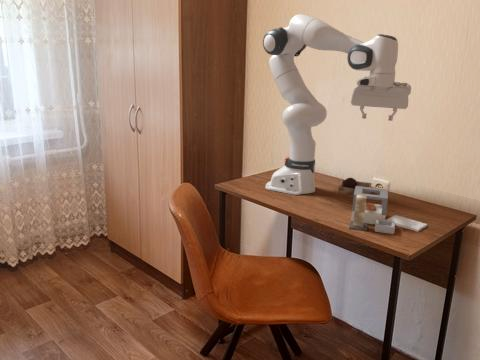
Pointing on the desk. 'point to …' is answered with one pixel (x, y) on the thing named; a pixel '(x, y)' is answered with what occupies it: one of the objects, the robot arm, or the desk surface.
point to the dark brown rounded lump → (350, 183)
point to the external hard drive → (407, 223)
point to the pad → (358, 227)
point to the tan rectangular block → (359, 211)
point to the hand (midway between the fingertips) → (377, 119)
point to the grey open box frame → (378, 209)
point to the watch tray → (351, 190)
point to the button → (369, 206)
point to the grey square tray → (384, 226)
